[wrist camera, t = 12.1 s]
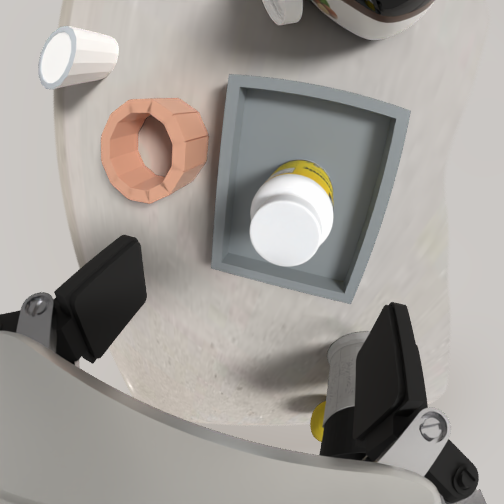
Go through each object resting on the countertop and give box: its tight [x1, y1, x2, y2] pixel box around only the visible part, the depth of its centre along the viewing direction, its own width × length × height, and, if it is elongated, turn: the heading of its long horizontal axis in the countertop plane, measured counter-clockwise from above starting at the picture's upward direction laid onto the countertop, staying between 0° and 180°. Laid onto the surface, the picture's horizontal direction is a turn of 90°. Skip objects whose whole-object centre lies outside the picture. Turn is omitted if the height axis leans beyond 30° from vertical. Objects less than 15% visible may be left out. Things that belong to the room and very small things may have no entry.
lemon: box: [310, 401, 326, 442], centre depth 34 cm, size 6×6×8 cm
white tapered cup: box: [39, 26, 119, 89], centre depth 19 cm, size 7×7×7 cm
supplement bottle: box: [250, 159, 334, 267], centre depth 19 cm, size 5×5×10 cm
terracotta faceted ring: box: [101, 98, 209, 204], centre depth 24 cm, size 9×9×4 cm
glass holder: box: [320, 332, 370, 461], centre depth 24 cm, size 9×14×15 cm, turn 173°
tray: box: [211, 74, 411, 304], centre depth 23 cm, size 18×14×3 cm
